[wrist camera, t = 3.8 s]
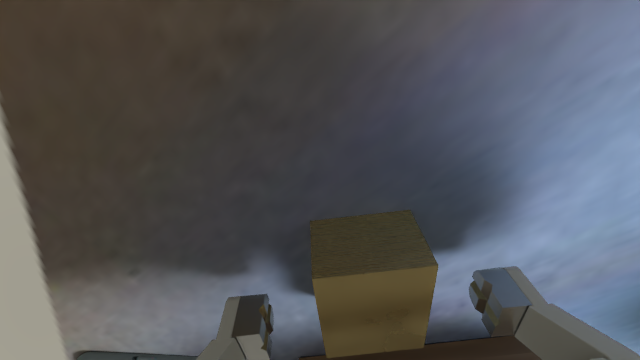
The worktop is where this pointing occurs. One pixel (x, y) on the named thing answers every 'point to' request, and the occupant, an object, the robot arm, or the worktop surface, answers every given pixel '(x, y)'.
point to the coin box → (453, 351)
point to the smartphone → (131, 356)
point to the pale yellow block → (372, 283)
